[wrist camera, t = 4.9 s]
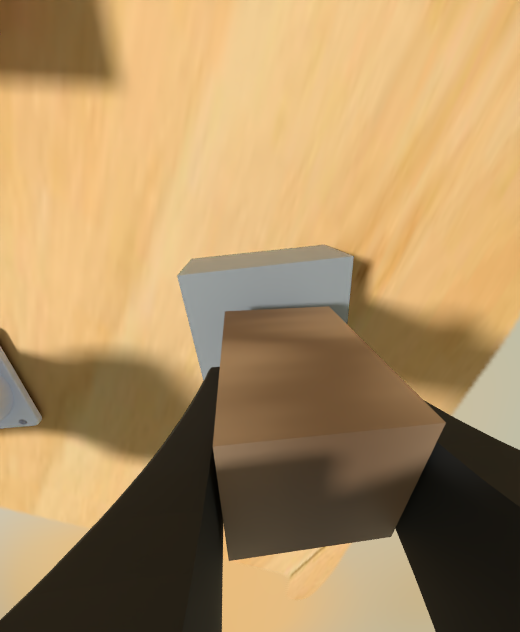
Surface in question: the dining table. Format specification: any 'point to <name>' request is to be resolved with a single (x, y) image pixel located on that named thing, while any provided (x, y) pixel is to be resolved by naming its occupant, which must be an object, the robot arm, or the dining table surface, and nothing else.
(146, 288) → the dining table surface
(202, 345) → the grey base block
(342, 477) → the walnut block
